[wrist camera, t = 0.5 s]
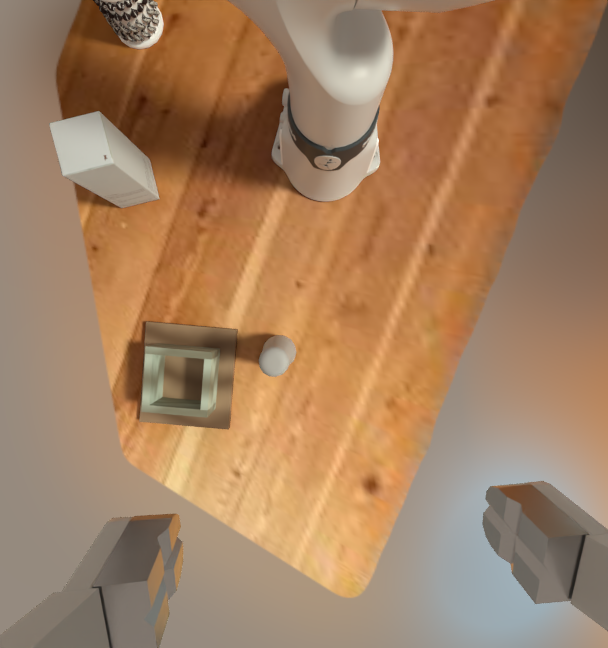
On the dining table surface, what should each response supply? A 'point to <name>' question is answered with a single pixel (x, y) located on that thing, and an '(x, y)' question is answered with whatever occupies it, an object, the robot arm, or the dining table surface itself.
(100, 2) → the decorative candle
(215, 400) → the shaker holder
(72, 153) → the supplement box
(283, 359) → the salt shaker
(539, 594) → the robot arm
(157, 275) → the dining table surface
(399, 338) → the dining table surface
